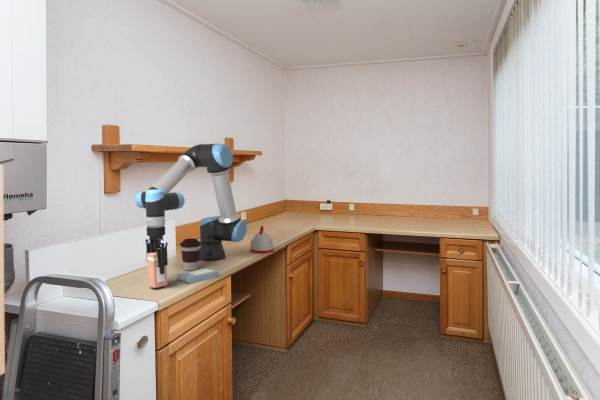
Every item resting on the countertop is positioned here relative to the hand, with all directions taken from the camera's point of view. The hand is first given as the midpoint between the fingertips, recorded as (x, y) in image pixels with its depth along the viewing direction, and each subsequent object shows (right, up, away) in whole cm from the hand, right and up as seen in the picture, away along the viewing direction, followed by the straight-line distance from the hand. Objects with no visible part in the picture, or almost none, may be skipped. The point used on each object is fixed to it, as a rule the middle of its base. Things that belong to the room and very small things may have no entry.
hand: (157, 280), depth 190 cm
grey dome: (+38, +3, +77) cm, 86 cm away
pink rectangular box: (0, -2, 0) cm, 2 cm away
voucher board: (+14, -2, +16) cm, 21 cm away
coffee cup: (+6, -1, +33) cm, 34 cm away
